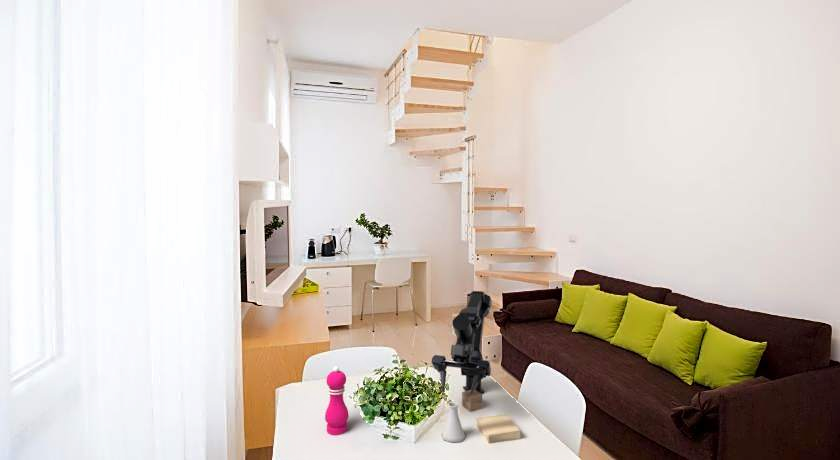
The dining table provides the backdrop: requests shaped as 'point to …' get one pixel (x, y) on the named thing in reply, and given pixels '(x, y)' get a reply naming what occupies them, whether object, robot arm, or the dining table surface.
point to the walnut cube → (472, 400)
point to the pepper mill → (336, 403)
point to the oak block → (498, 428)
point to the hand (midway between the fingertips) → (457, 391)
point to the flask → (453, 425)
